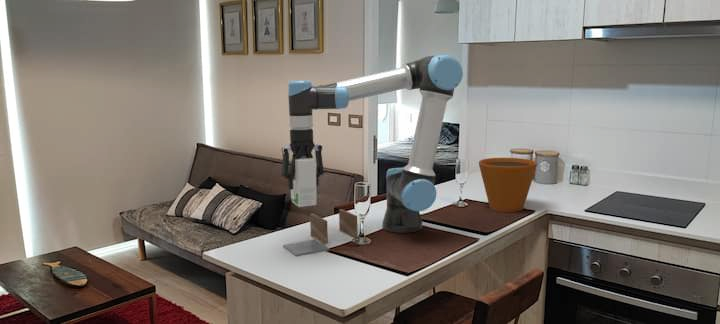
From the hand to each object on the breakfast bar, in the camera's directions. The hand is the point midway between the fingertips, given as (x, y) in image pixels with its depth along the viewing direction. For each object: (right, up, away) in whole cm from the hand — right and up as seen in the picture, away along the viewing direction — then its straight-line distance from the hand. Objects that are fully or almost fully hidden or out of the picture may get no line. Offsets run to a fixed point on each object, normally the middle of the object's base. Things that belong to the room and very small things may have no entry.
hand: (303, 197), depth 179 cm
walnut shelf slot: (+9, -15, +16) cm, 24 cm away
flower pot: (+82, -8, +52) cm, 97 cm away
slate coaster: (0, -17, +3) cm, 18 cm away
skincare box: (0, -2, 0) cm, 2 cm away
